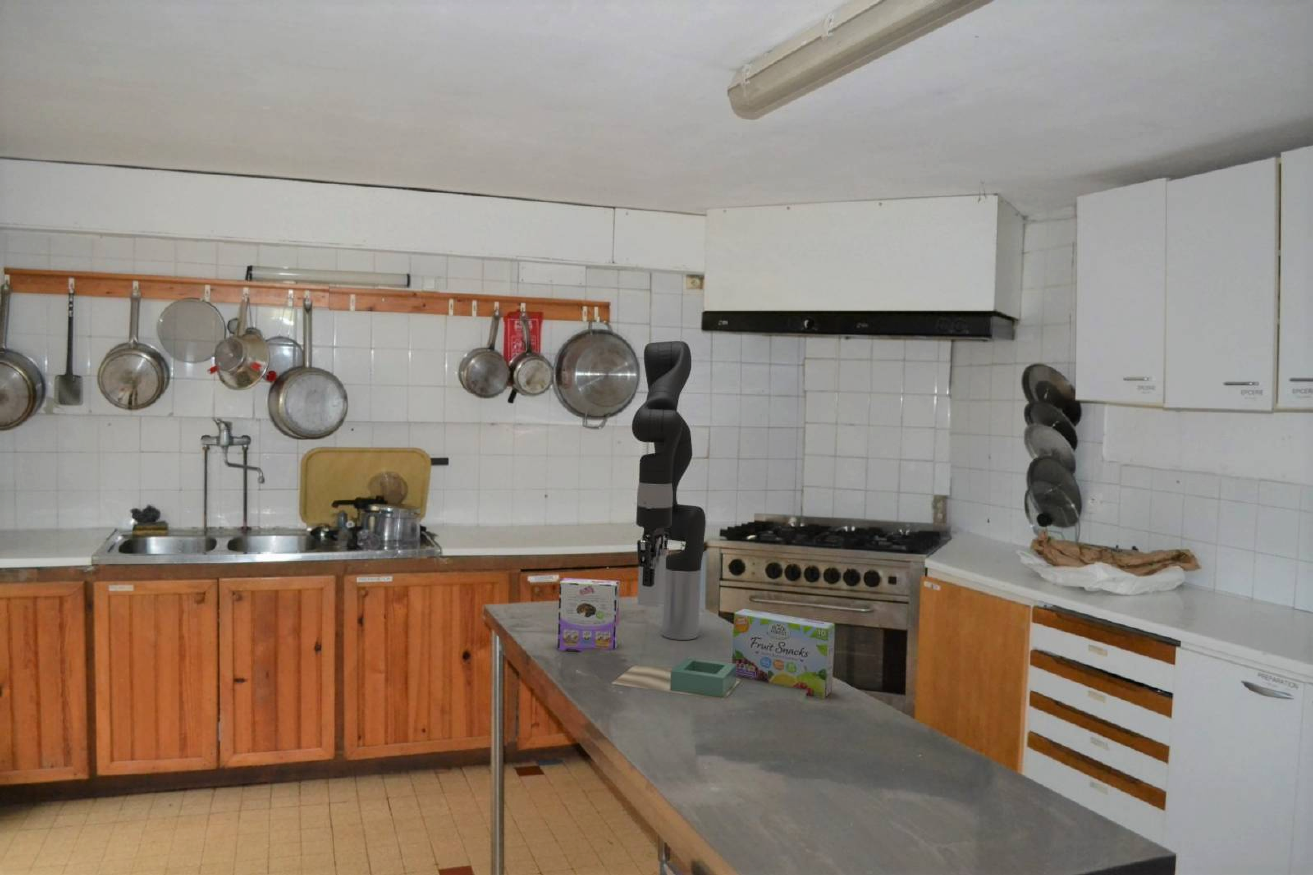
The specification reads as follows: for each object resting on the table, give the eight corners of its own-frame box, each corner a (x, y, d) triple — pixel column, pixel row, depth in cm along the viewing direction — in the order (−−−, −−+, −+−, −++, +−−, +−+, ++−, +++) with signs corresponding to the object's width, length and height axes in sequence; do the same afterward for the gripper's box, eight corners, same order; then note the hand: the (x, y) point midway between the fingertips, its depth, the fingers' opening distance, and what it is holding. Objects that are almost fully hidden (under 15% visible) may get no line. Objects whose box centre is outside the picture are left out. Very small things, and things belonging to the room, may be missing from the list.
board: (635, 669, 213) (636, 664, 213) (741, 684, 205) (741, 679, 205) (610, 689, 199) (611, 683, 199) (723, 705, 191) (723, 699, 191)
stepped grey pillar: (640, 599, 208) (642, 544, 207) (668, 603, 206) (670, 547, 205) (633, 604, 203) (635, 548, 203) (661, 607, 201) (663, 550, 201)
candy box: (618, 648, 230) (620, 579, 229) (614, 654, 224) (617, 584, 224) (561, 644, 232) (563, 576, 231) (556, 650, 226) (558, 581, 225)
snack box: (729, 681, 207) (732, 612, 207) (740, 675, 212) (743, 607, 212) (824, 699, 198) (828, 627, 197) (833, 692, 203) (836, 621, 202)
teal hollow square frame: (686, 675, 206) (686, 657, 206) (736, 682, 202) (736, 663, 202) (670, 690, 196) (670, 671, 195) (722, 698, 192) (723, 678, 192)
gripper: (649, 499, 211) (646, 576, 212) (626, 506, 198) (623, 588, 199) (681, 501, 209) (678, 579, 210) (660, 509, 195) (657, 592, 196)
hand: (651, 583), depth 204 cm, fingers closed on stepped grey pillar, 4 cm apart
